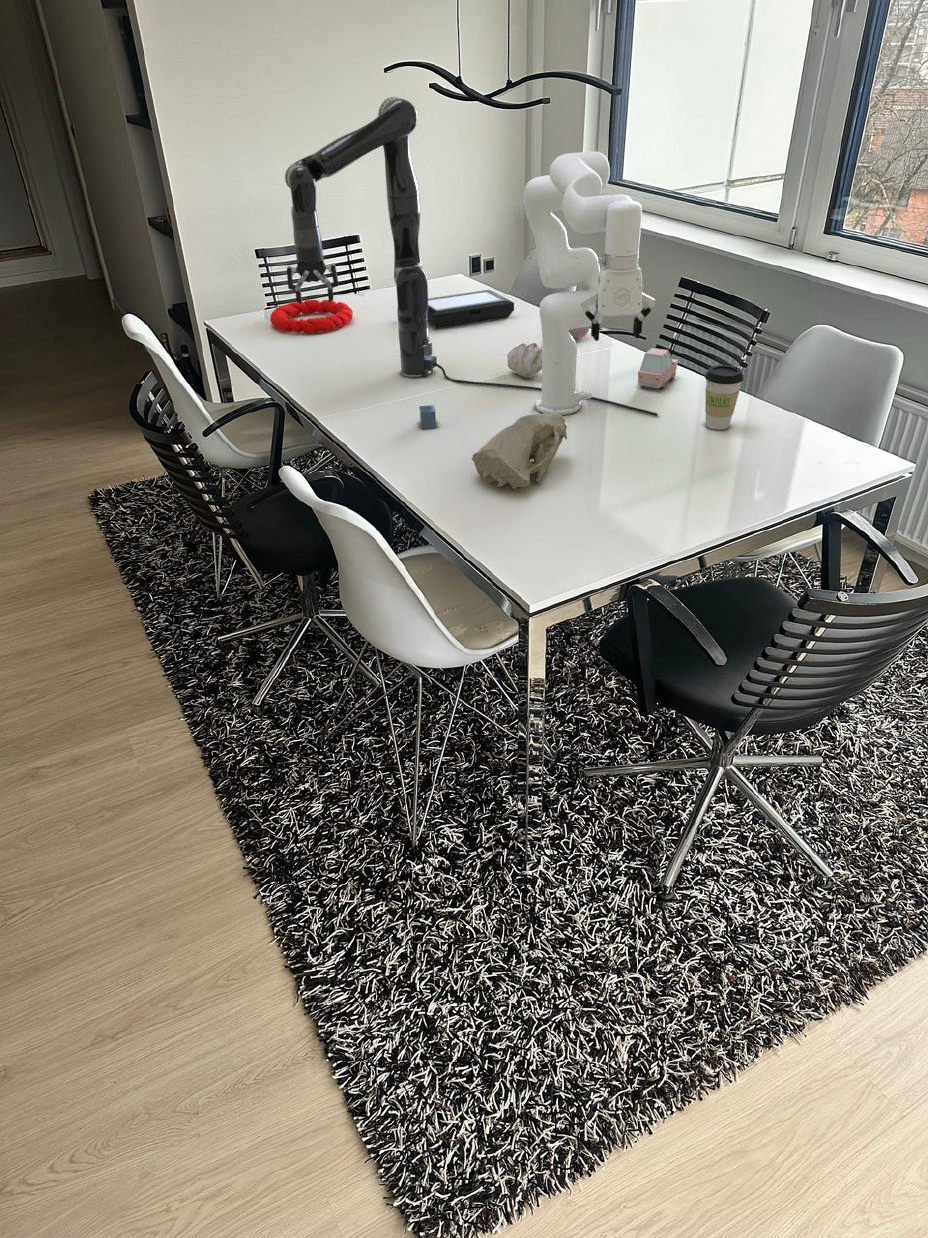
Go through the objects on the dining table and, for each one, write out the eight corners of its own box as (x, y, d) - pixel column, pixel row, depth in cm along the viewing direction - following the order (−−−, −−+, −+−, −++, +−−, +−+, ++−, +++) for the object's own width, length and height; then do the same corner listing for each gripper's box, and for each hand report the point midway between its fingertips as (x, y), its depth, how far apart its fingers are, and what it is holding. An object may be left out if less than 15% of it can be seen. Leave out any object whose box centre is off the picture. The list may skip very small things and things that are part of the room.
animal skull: (489, 499, 227) (452, 459, 211) (541, 418, 229) (509, 372, 213) (540, 522, 217) (505, 481, 201) (594, 437, 219) (564, 390, 203)
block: (420, 422, 247) (419, 405, 245) (434, 421, 248) (434, 404, 245) (421, 428, 244) (420, 412, 241) (436, 427, 244) (435, 411, 241)
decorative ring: (264, 303, 335) (273, 317, 310) (343, 294, 342) (358, 307, 317) (267, 323, 338) (277, 338, 313) (345, 314, 345) (360, 328, 320)
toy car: (680, 376, 271) (684, 343, 265) (662, 392, 260) (666, 358, 255) (651, 371, 275) (654, 339, 269) (632, 387, 264) (635, 354, 259)
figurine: (575, 330, 312) (576, 295, 305) (594, 339, 304) (596, 302, 297) (554, 335, 308) (555, 299, 301) (572, 343, 300) (574, 307, 293)
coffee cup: (691, 421, 242) (698, 367, 233) (722, 415, 245) (730, 362, 236) (712, 434, 234) (719, 379, 226) (743, 428, 237) (752, 373, 228)
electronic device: (433, 312, 313) (412, 299, 328) (434, 330, 317) (413, 316, 332) (514, 300, 323) (490, 287, 338) (514, 317, 327) (490, 304, 342)
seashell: (522, 385, 268) (523, 352, 263) (503, 370, 280) (503, 338, 274) (553, 380, 271) (554, 348, 266) (533, 365, 283) (533, 334, 277)
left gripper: (281, 248, 246) (290, 307, 256) (333, 245, 247) (339, 304, 256) (283, 242, 252) (292, 300, 262) (333, 239, 253) (340, 297, 262)
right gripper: (586, 267, 196) (583, 345, 206) (663, 263, 197) (656, 340, 207) (579, 259, 202) (576, 335, 212) (654, 255, 204) (647, 330, 213)
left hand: (315, 302), depth 259 cm, fingers open, 8 cm apart
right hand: (615, 337), depth 210 cm, fingers open, 9 cm apart
